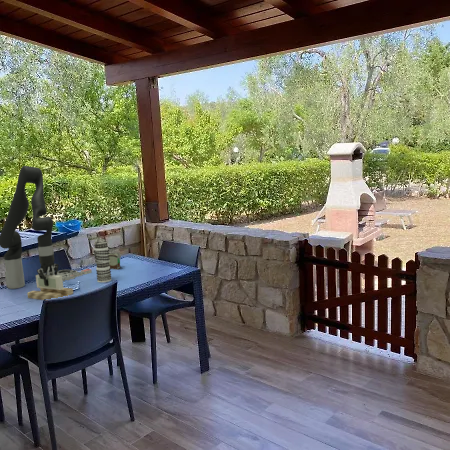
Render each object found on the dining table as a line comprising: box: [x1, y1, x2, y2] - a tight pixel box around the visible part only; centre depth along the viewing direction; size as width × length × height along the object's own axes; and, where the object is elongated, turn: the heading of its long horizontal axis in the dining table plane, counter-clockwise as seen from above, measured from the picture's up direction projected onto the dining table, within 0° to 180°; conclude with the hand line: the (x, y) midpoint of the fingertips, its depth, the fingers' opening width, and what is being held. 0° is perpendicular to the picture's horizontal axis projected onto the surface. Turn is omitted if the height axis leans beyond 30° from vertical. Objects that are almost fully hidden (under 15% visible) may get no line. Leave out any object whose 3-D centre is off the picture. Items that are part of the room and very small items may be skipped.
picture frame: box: [35, 274, 64, 290], centre depth 247 cm, size 16×4×7 cm, turn 66°
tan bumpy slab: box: [27, 287, 74, 301], centre depth 248 cm, size 20×13×3 cm, turn 66°
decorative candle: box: [93, 238, 112, 283], centre depth 271 cm, size 9×9×25 cm
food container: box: [108, 252, 122, 271], centre depth 302 cm, size 12×6×10 cm, turn 58°
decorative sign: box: [57, 268, 92, 282], centre depth 290 cm, size 22×2×20 cm
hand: (49, 284), depth 247 cm, fingers closed on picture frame, 3 cm apart
